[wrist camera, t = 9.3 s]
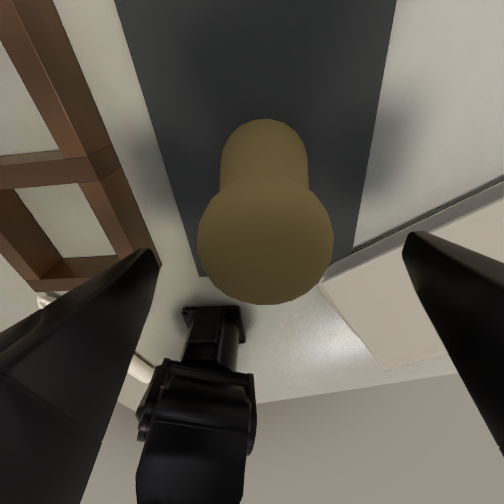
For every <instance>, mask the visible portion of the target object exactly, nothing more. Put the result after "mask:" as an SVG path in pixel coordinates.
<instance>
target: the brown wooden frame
mask: <svg viewBox="0 0 504 504" xmlns="http://www.w3.org/2000/svg"><path fill="white" fill-rule="evenodd" d="M0 40H1V42H2V44H3V46H4V48H5V49H6V51H7V53H8V55H9V57H10V59H11V61H12V62H13V64H14V66H15V68H16V70H17V72H18V73H19V75H20V77H21V79H22V81H23V83H24V84H25V86H26V88H27V90H28V92H29V94H30V96H31V97H32V99H33V101H34V103H35V105H36V107H37V108H38V110H39V112H40V114H41V116H42V118H43V119H44V121H45V123H46V125H47V127H48V129H49V131H50V132H51V134H52V136H53V138H54V140H55V142H56V143H57V145H58V147H59V149H60V150H56V151H47V152H37V153H27V154H18V155H8V156H0V253H1V255H2V256H3V257H4V258H5V259H6V260H7V261H8V262H9V263H10V265H11V266H12V267H13V268H14V269H15V270H16V271H17V272H18V273H19V275H20V276H21V277H22V278H23V279H24V280H26V282H27V283H28V284H29V286H30V287H31V288H32V289H33V290H34V291H35V292H53V291H71V290H72V289H74V288H76V287H77V286H79V285H81V284H82V283H84V282H85V281H87V280H89V279H90V278H92V277H94V276H95V275H97V274H99V273H100V272H102V271H103V270H105V269H107V268H108V267H110V266H112V265H113V264H115V263H117V262H118V261H120V260H121V259H123V258H125V257H126V256H128V255H130V254H131V253H133V252H135V251H136V250H138V249H143V248H150V249H151V250H152V251H153V253H154V255H155V258H156V260H157V262H158V264H159V270H160V268H161V266H162V264H161V261H160V259H159V257H158V254H157V251H156V249H155V247H154V244H153V242H152V239H151V237H150V235H149V232H148V230H147V227H146V225H145V223H144V220H143V218H142V215H141V213H140V211H139V208H138V206H137V203H136V201H135V199H134V196H133V194H132V191H131V189H130V187H129V184H128V182H127V179H126V177H125V175H124V172H123V170H122V167H121V165H120V162H119V160H118V158H117V155H116V153H115V150H114V148H113V146H112V143H111V141H110V139H109V136H108V134H107V131H106V129H105V127H104V124H103V122H102V119H101V117H100V115H99V112H98V110H97V107H96V105H95V103H94V100H93V98H92V95H91V93H90V91H89V88H88V86H87V83H86V81H85V79H84V76H83V74H82V71H81V69H80V67H79V64H78V62H77V59H76V57H75V55H74V52H73V50H72V47H71V45H70V43H69V40H68V38H67V35H66V33H65V31H64V28H63V26H62V23H61V21H60V19H59V16H58V14H57V11H56V9H55V6H54V4H53V2H52V0H0ZM71 183H78V184H79V186H80V188H81V190H82V191H83V193H84V195H85V197H86V199H87V201H88V202H89V204H90V206H91V208H92V210H93V212H94V213H95V215H96V217H97V219H98V221H99V223H100V225H101V226H102V228H103V230H104V232H105V234H106V236H107V237H108V239H109V241H110V243H111V245H112V247H113V249H114V250H115V252H116V254H117V256H100V257H84V258H67V259H62V257H61V256H60V254H59V253H58V251H57V250H56V249H55V247H54V246H53V244H52V243H51V242H50V240H49V239H48V238H47V236H46V235H45V233H44V232H43V231H42V229H41V228H40V226H39V225H38V224H37V222H36V221H35V219H34V218H33V217H32V215H31V214H30V212H29V211H28V210H27V208H26V207H25V205H24V204H23V203H22V201H21V200H20V199H19V197H18V196H17V194H16V193H15V192H14V190H13V189H15V188H26V187H37V186H48V185H59V184H71Z"/></svg>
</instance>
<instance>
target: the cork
mask: <svg viewBox="0 0 504 504" xmlns="http://www.w3.org/2000/svg"><path fill="white" fill-rule="evenodd" d="M333 240H334V234H333V230H332V226H331V222H330V219H329V215H328V213H327V211H326V209H325V208H324V206H323V205H322V204H321V202H320V201H319V200H318V198H317V197H316V196H315V194H314V193H313V192H311V191H310V190H309V179H308V158H307V154H306V150H305V146H304V143H303V142H302V140H301V139H300V137H299V136H298V134H297V133H296V131H294V130H293V129H292V128H290V127H289V126H287V125H286V124H285V123H283V122H280V121H276V120H272V119H257V120H252V121H250V122H248V123H246V124H243V125H241V126H239V127H238V128H237V129H236V130H235V131H234V132H233V133H232V134H231V135H230V136H229V138H228V140H227V142H226V144H225V146H224V148H223V150H222V156H221V163H220V190H219V193H218V194H217V195H216V196H214V197H213V198H212V199H211V201H210V203H209V205H208V206H207V208H206V210H205V212H204V214H203V216H202V218H201V220H200V222H199V227H198V236H197V251H198V255H199V259H200V262H201V266H202V268H203V269H204V271H205V272H206V274H207V275H208V277H209V278H210V280H211V281H212V282H213V284H214V285H215V286H216V287H217V288H218V289H220V290H221V291H222V292H224V293H225V294H226V295H227V296H230V297H232V298H234V299H237V300H239V301H241V302H245V303H251V304H256V305H276V304H280V303H284V302H288V301H292V300H294V299H296V298H298V297H300V296H302V295H304V294H306V293H307V292H308V291H309V290H311V289H312V288H313V287H314V286H315V285H316V284H317V283H318V282H319V281H320V279H321V278H322V276H323V274H324V272H325V271H326V269H327V267H328V265H329V263H330V262H331V257H332V250H333Z"/></svg>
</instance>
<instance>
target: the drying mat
mask: <svg viewBox="0 0 504 504" xmlns="http://www.w3.org/2000/svg"><path fill="white" fill-rule="evenodd" d="M396 1H397V0H114V2H115V5H116V8H117V12H118V15H119V18H120V21H121V24H122V28H123V31H124V34H125V37H126V41H127V44H128V47H129V50H130V54H131V57H132V60H133V63H134V66H135V70H136V73H137V76H138V79H139V83H140V86H141V89H142V92H143V96H144V99H145V102H146V105H147V108H148V112H149V115H150V118H151V121H152V125H153V128H154V131H155V134H156V138H157V141H158V144H159V147H160V151H161V154H162V157H163V160H164V163H165V167H166V170H167V173H168V176H169V180H170V183H171V186H172V189H173V193H174V196H175V199H176V202H177V205H178V209H179V212H180V215H181V218H182V222H183V225H184V228H185V231H186V235H187V238H188V241H189V244H190V247H191V251H192V254H193V257H194V260H195V264H196V267H197V270H198V273H199V277H205V276H208V275H207V274H206V272H205V271H204V269H203V268H202V266H201V262H200V259H199V255H198V251H197V236H198V227H199V222H200V220H201V218H202V216H203V214H204V212H205V210H206V208H207V206H208V205H209V203H210V201H211V199H212V198H213V197H214V196H216V195H217V194H218V193H219V190H220V163H221V156H222V150H223V148H224V146H225V144H226V142H227V140H228V138H229V136H230V135H231V134H232V133H233V132H234V131H235V130H236V129H237V128H238V127H239V126H241V125H243V124H246V123H248V122H250V121H252V120H257V119H272V120H276V121H280V122H283V123H285V124H286V125H287V126H289V127H290V128H292V129H293V130H294V131H296V133H297V134H298V136H299V137H300V139H301V140H302V142H303V143H304V146H305V150H306V154H307V158H308V179H309V190H310V191H311V192H313V193H314V194H315V196H316V197H317V198H318V200H319V201H320V202H321V204H322V205H323V206H324V208H325V209H326V211H327V213H328V215H329V219H330V222H331V226H332V230H333V234H334V240H333V250H332V257H331V262H330V263H329V265H328V267H329V266H331V265H332V264H333V263H335V262H337V261H339V260H341V259H343V258H345V257H347V256H349V255H351V253H352V248H353V242H354V236H355V231H356V225H357V220H358V214H359V208H360V203H361V197H362V191H363V186H364V180H365V175H366V169H367V163H368V158H369V152H370V147H371V141H372V135H373V130H374V124H375V119H376V113H377V107H378V102H379V96H380V90H381V85H382V79H383V74H384V68H385V62H386V57H387V51H388V46H389V40H390V34H391V29H392V23H393V17H394V12H395V6H396ZM328 267H327V268H328Z"/></svg>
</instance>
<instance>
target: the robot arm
mask: <svg viewBox="0 0 504 504" xmlns="http://www.w3.org/2000/svg"><path fill="white" fill-rule="evenodd" d="M402 259H403V262H404V264H405V267H406V269H407V272H408V274H409V277H410V280H411V282H412V285H413V287H414V290H415V292H416V294H417V296H418V298H419V300H420V302H421V304H422V306H423V308H424V310H425V312H426V313H427V315H428V317H429V319H430V321H431V323H432V325H433V326H434V328H435V330H436V332H437V334H438V336H439V338H440V339H441V341H442V343H443V345H444V347H445V349H446V351H447V352H448V354H449V356H450V358H451V360H452V362H453V364H454V365H455V367H456V369H457V371H458V373H459V375H460V377H461V378H462V380H463V382H464V384H465V386H466V387H467V389H468V391H469V393H470V395H471V397H472V399H473V401H474V402H475V404H476V406H477V408H478V410H479V412H480V414H481V415H482V417H483V419H484V421H485V423H486V425H487V426H488V428H489V430H490V432H491V434H492V436H493V438H494V440H495V441H496V443H497V445H498V446H499V449H500V451H501V453H502V455H503V456H504V263H503V262H500V261H498V260H495V259H493V258H490V257H488V256H485V255H483V254H480V253H478V252H475V251H473V250H470V249H468V248H465V247H463V246H460V245H458V244H455V243H453V242H450V241H448V240H445V239H443V238H440V237H438V236H435V235H433V234H430V233H428V232H425V231H412V232H410V233H408V235H407V237H406V240H405V243H404V246H403V249H402ZM158 274H159V264H158V262H157V260H156V258H155V255H154V253H153V251H152V250H151V249H150V248H143V249H138V250H136V251H135V252H133V253H131V254H130V255H128V256H126V257H125V258H123V259H121V260H120V261H118V262H117V263H115V264H113V265H112V266H110V267H108V268H107V269H105V270H103V271H102V272H100V273H99V274H97V275H95V276H94V277H92V278H90V279H89V280H87V281H85V282H84V283H82V284H81V285H79V286H77V287H76V288H74V289H72V290H71V291H69V292H67V293H66V294H64V295H63V296H61V297H59V298H58V299H56V300H54V301H53V302H51V303H49V304H48V305H46V306H45V307H44V308H42V309H40V310H38V311H36V312H35V313H33V314H31V315H30V316H28V317H26V318H25V319H23V320H21V321H20V322H18V323H16V324H15V325H13V326H11V327H10V328H8V329H6V330H4V331H3V332H1V333H0V504H80V502H81V499H82V497H83V494H84V491H85V488H86V485H87V483H88V480H89V477H90V474H91V472H92V469H93V466H94V463H95V461H96V458H97V455H98V452H99V449H100V447H101V444H102V442H101V441H102V440H103V438H104V435H105V432H106V429H107V427H108V424H109V421H110V418H111V416H112V413H113V410H114V407H115V405H116V402H117V399H118V396H119V394H120V391H121V388H122V385H123V382H124V380H125V377H126V374H127V371H128V369H129V366H130V363H131V360H132V358H133V355H134V352H135V349H136V346H137V344H138V341H139V338H140V335H141V333H142V330H143V327H144V324H145V322H146V319H147V316H148V313H149V310H150V307H151V304H152V300H153V296H154V292H155V287H156V283H157V279H158ZM181 313H182V316H183V318H184V320H185V323H186V325H187V328H188V330H189V331H188V334H187V338H186V341H185V345H184V348H183V352H182V355H181V359H180V362H179V361H174V360H170V359H168V358H164V361H163V363H162V365H159V366H156V368H155V371H154V373H153V376H152V379H151V381H150V384H149V386H148V388H147V390H146V392H145V394H144V396H143V398H142V400H141V402H140V404H139V406H138V408H137V411H136V418H137V420H138V422H139V425H138V430H139V432H138V437H137V441H139V442H145V444H144V448H143V451H142V454H141V458H140V461H139V465H138V468H137V472H136V495H137V504H240V501H241V499H242V497H243V487H244V473H245V464H246V457H247V456H249V455H250V454H251V452H252V449H253V446H254V441H255V436H256V426H257V413H256V399H255V388H254V376H253V374H251V373H247V374H245V373H240V372H236V365H237V354H238V344H239V343H245V342H246V336H245V331H244V326H243V321H242V316H241V310H240V307H239V306H211V307H186V308H183V309H182V312H181Z"/></svg>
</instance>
